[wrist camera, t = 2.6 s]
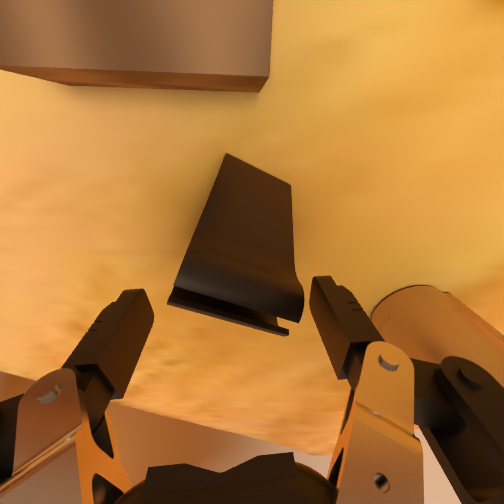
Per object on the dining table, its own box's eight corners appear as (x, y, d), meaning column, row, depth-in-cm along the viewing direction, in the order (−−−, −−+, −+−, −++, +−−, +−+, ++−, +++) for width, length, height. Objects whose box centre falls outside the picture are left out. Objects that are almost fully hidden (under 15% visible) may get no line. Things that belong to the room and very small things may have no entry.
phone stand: (226, 151, 17) (206, 192, 7) (290, 184, 18) (354, 257, 8) (192, 242, 21) (146, 355, 11) (247, 262, 22) (253, 377, 12)
